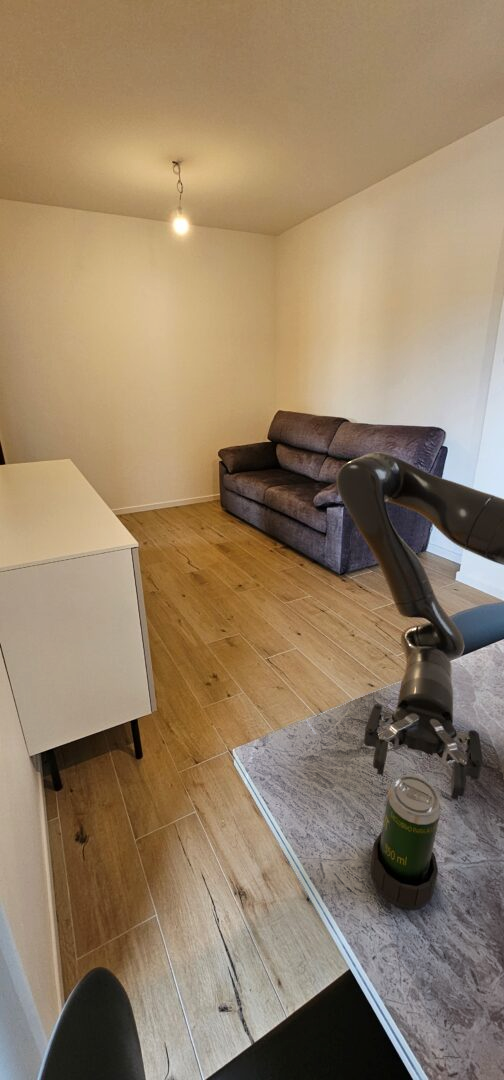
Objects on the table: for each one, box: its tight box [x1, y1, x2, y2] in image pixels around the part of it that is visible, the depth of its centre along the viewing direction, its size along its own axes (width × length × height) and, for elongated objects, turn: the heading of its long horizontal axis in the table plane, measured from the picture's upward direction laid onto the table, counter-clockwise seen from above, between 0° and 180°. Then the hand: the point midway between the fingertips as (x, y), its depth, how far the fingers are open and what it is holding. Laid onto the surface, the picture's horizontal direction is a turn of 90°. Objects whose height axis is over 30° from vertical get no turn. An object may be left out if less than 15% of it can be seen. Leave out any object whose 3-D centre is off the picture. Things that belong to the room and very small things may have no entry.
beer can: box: [378, 774, 442, 886], centre depth 50 cm, size 5×5×12 cm
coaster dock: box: [370, 831, 439, 911], centre depth 52 cm, size 7×7×3 cm
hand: (417, 781), depth 54 cm, fingers open, 8 cm apart
